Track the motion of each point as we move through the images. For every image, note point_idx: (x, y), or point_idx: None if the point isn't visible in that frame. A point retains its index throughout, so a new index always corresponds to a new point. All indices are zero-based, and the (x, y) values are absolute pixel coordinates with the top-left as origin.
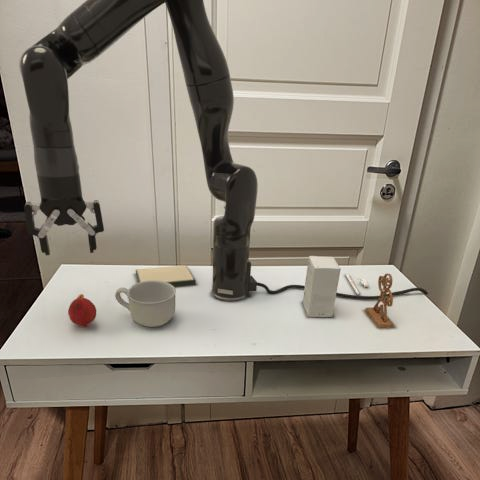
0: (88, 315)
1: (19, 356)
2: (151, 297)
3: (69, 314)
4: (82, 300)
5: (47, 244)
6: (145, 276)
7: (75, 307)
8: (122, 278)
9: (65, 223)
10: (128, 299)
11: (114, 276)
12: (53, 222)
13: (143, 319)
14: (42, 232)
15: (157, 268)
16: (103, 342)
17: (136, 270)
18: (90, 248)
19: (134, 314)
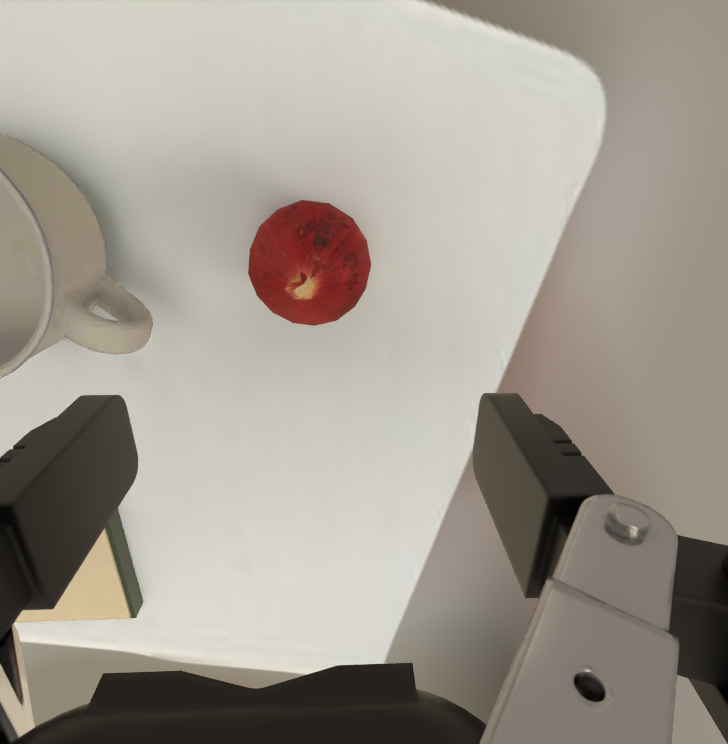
0: (279, 210)
1: (563, 64)
2: (2, 344)
3: (364, 240)
4: (295, 263)
5: (518, 450)
6: (88, 564)
7: (333, 236)
8: (189, 581)
9: (255, 709)
10: (65, 255)
11: (219, 597)
12: (501, 715)
13: (18, 142)
14: (627, 556)
15: (48, 615)
16: (232, 89)
17: (131, 612)
18: (89, 411)
19: (60, 183)
